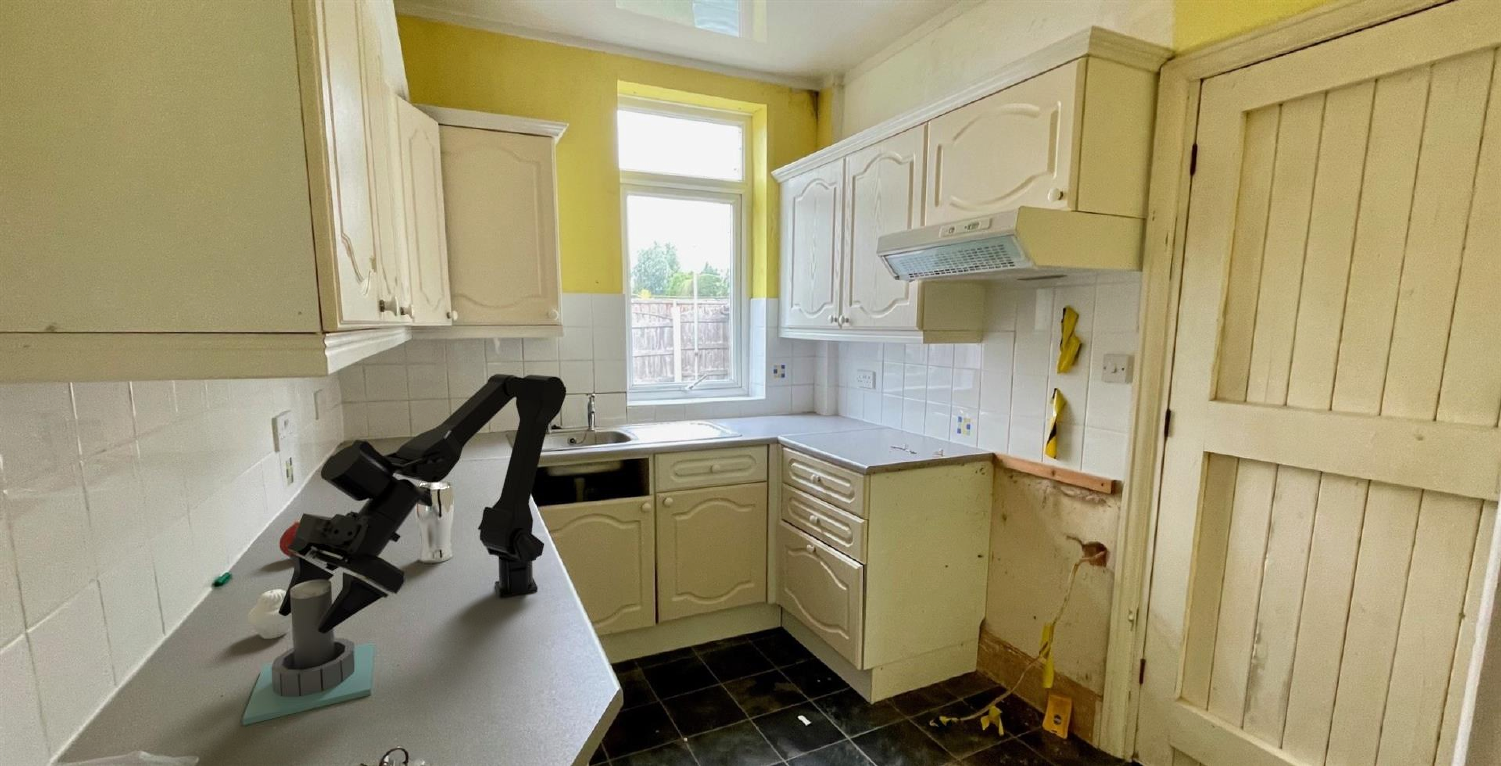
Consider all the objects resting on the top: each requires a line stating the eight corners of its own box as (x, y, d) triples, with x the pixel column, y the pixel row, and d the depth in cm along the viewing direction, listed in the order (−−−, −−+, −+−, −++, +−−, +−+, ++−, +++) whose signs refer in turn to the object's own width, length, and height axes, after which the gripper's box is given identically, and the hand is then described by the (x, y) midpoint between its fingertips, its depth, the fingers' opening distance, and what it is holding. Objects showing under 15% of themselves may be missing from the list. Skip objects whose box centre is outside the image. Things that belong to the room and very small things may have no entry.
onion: (273, 563, 120) (270, 523, 119) (300, 552, 126) (298, 514, 125) (296, 566, 119) (294, 526, 118) (323, 555, 124) (321, 517, 123)
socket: (264, 670, 84) (262, 644, 84) (374, 647, 91) (373, 622, 90) (242, 725, 73) (240, 695, 73) (370, 694, 79) (369, 666, 79)
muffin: (308, 629, 95) (305, 586, 95) (262, 648, 90) (259, 602, 89) (286, 620, 98) (283, 578, 97) (240, 637, 93) (237, 593, 92)
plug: (312, 665, 84) (307, 578, 83) (343, 667, 84) (339, 580, 83) (286, 684, 80) (281, 593, 78) (319, 686, 80) (314, 595, 78)
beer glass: (445, 548, 129) (443, 479, 128) (461, 557, 125) (459, 485, 123) (410, 558, 124) (408, 485, 122) (426, 567, 120) (423, 492, 118)
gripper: (299, 478, 87) (208, 582, 78) (379, 498, 78) (286, 617, 70) (359, 517, 95) (282, 615, 86) (437, 539, 86) (360, 650, 78)
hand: (300, 623), depth 80 cm, fingers open, 9 cm apart
